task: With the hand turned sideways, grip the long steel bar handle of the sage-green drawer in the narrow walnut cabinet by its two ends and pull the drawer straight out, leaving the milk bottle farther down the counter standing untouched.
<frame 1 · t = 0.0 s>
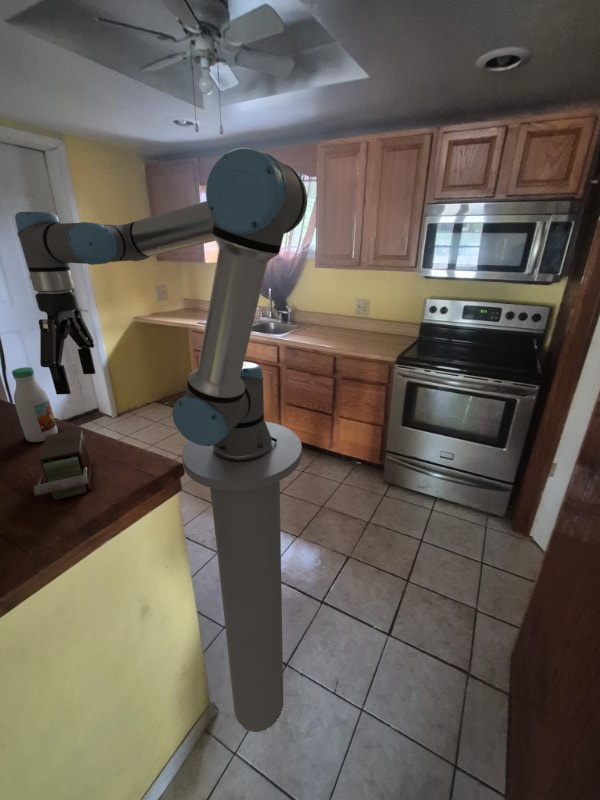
hand: (77, 383, 89), 20 cm above the table, tool pointing down, fingers open, 13 cm apart
milk bottle: (42, 436, 105), on the table
drawer: (66, 473, 80), point 5 cm above the table, slide at 0.5 cm
cabinet: (73, 481, 86), on the table
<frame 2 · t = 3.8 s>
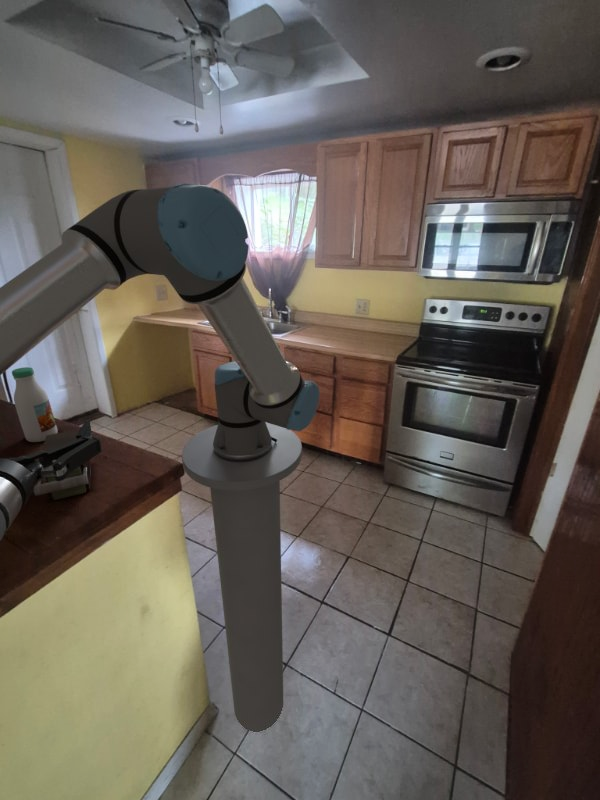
hand: (44, 431, 64), 21 cm above the table, tool horizontal, fingers open, 13 cm apart
nothing on the table moved.
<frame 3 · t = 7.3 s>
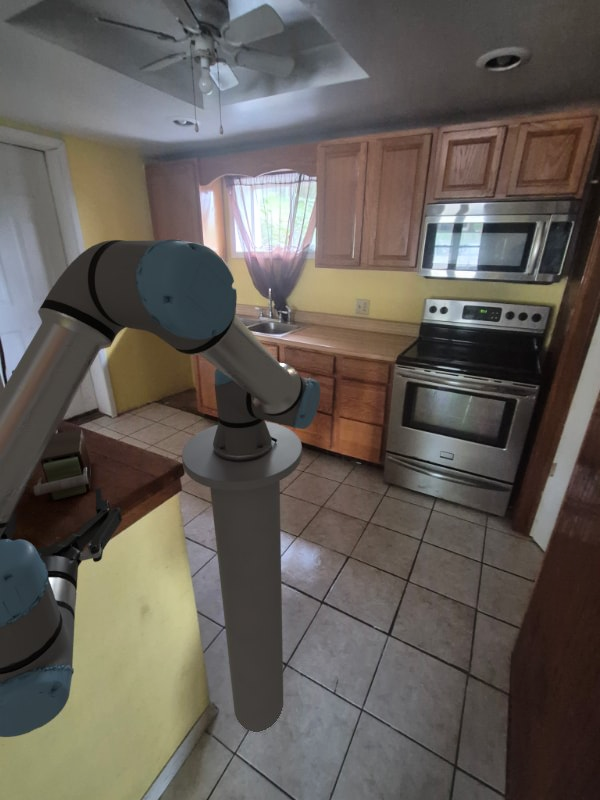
hand: (58, 504, 68), 7 cm above the table, tool horizontal, fingers open, 13 cm apart
nothing on the table moved.
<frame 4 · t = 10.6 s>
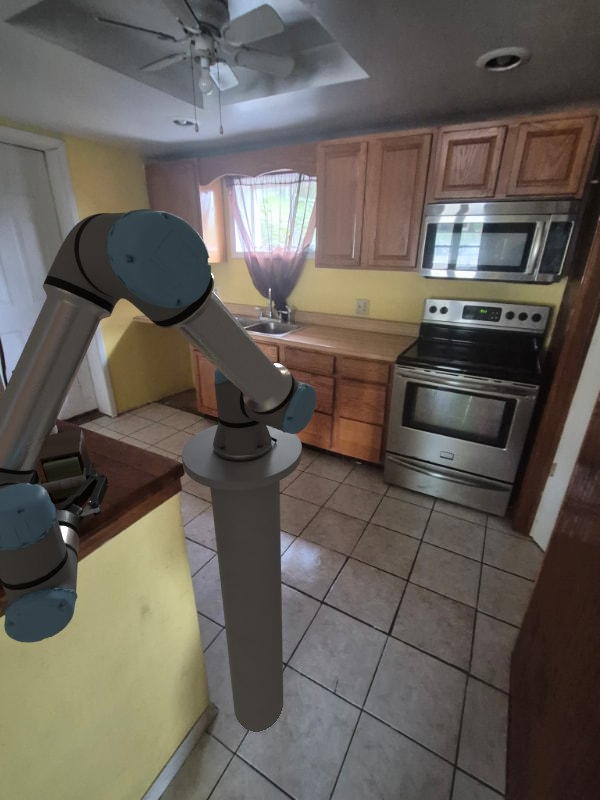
hand: (63, 470, 77), 7 cm above the table, tool horizontal, fingers closed on drawer, 9 cm apart
drawer: (66, 473, 80), point 5 cm above the table, slide at 0.5 cm, touching gripper
everything else where it was.
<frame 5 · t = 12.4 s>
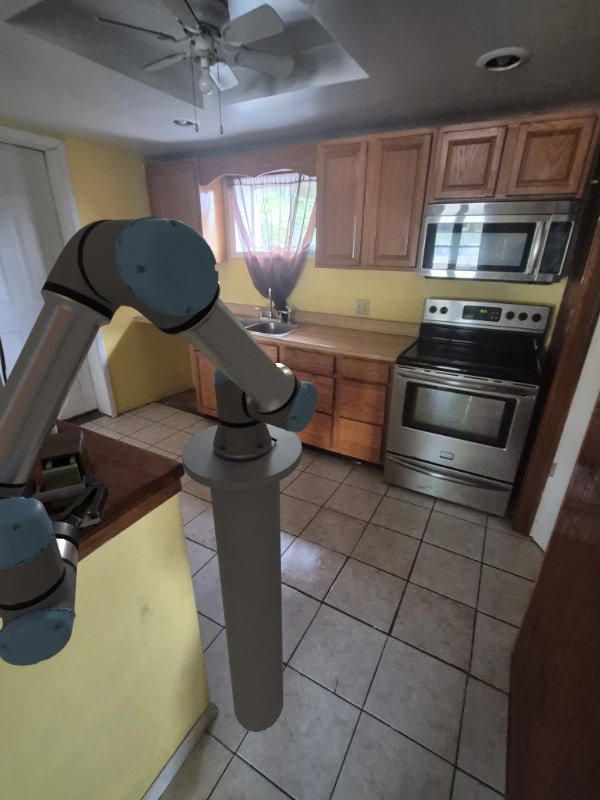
hand: (62, 478, 75), 7 cm above the table, tool horizontal, fingers closed on drawer, 9 cm apart
drawer: (65, 481, 77), point 5 cm above the table, slide at 3.6 cm, touching gripper
everything else where it was.
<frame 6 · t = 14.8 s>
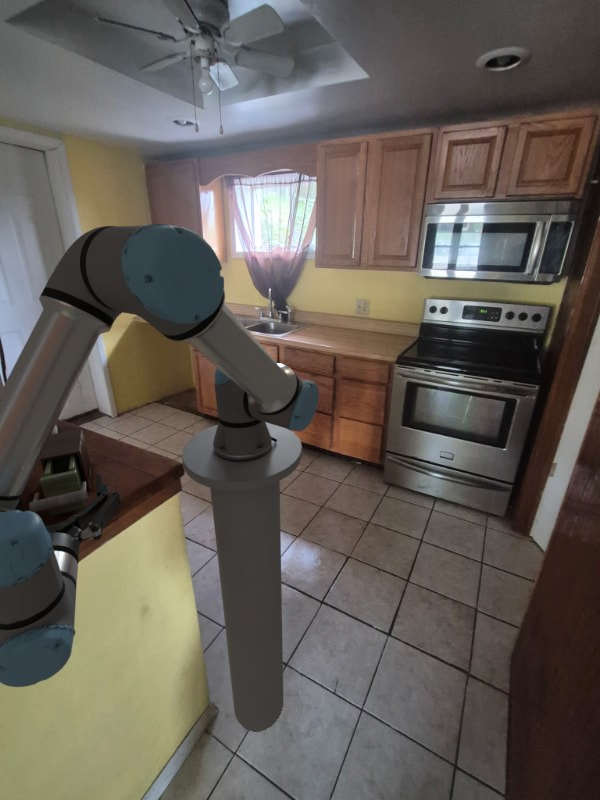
hand: (61, 489, 72), 7 cm above the table, tool horizontal, fingers open, 13 cm apart
drawer: (64, 487, 75), point 5 cm above the table, slide at 6.0 cm
everything else where it was.
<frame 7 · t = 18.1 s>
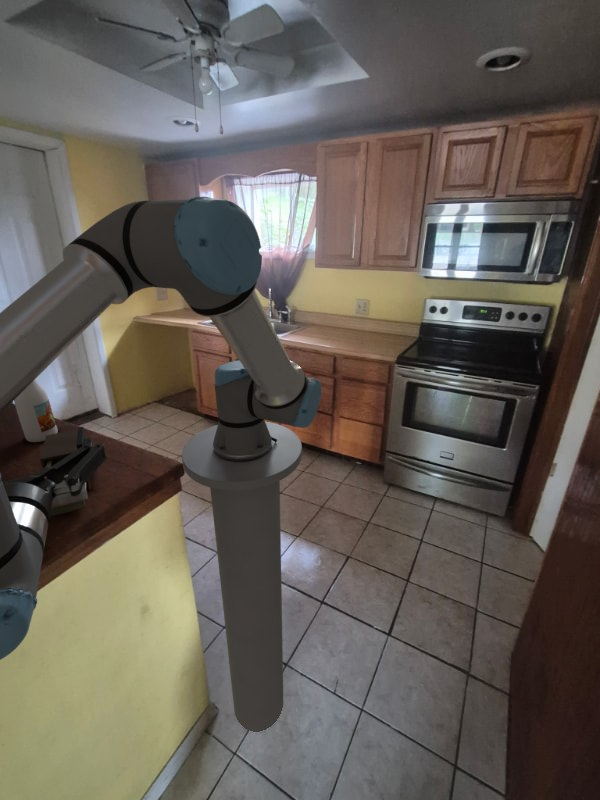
hand: (35, 442, 60), 21 cm above the table, tool horizontal, fingers open, 13 cm apart
nothing on the table moved.
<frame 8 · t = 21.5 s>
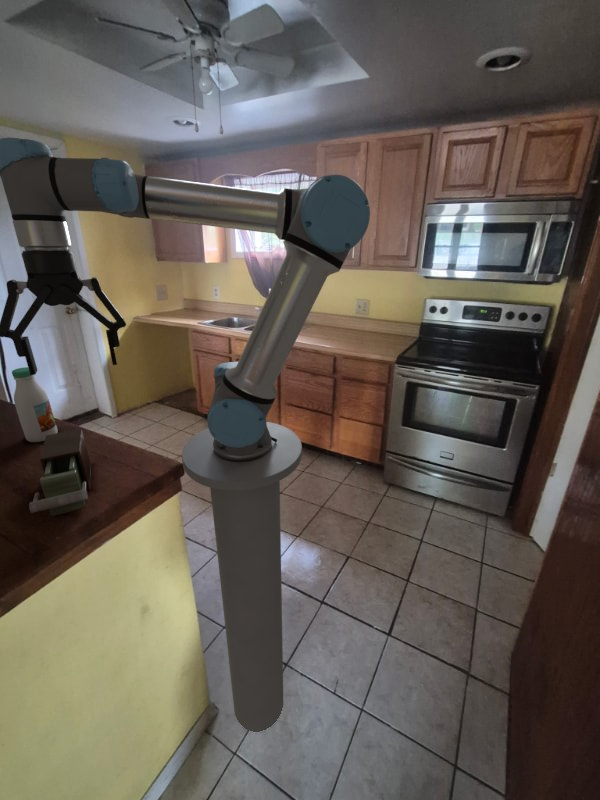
hand: (76, 367, 72), 29 cm above the table, tool pointing down, fingers open, 13 cm apart
nothing on the table moved.
at the end: drawer slide at 6.0 cm; the gripper is holding nothing; milk bottle moved 0.2 cm from its start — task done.
